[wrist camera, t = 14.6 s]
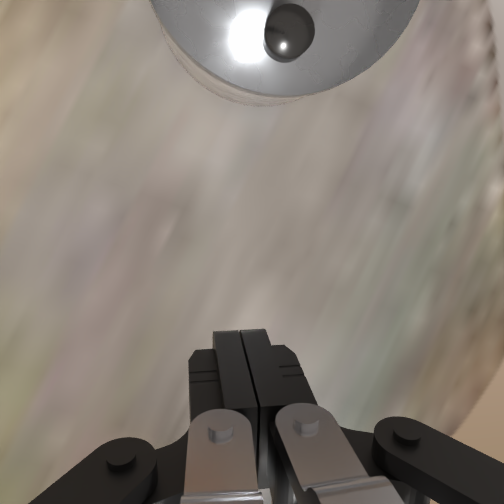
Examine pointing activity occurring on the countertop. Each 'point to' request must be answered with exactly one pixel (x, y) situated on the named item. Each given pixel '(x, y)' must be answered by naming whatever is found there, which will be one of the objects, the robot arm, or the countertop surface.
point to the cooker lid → (284, 40)
